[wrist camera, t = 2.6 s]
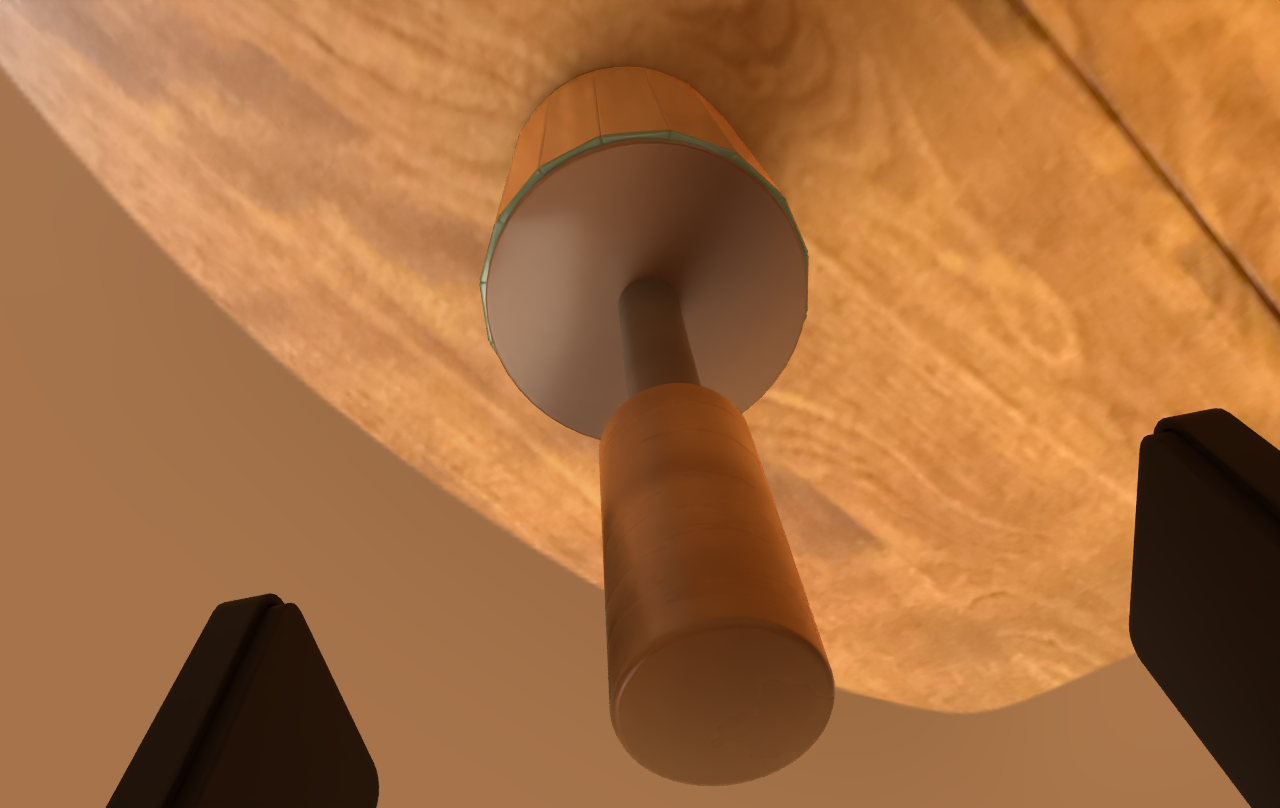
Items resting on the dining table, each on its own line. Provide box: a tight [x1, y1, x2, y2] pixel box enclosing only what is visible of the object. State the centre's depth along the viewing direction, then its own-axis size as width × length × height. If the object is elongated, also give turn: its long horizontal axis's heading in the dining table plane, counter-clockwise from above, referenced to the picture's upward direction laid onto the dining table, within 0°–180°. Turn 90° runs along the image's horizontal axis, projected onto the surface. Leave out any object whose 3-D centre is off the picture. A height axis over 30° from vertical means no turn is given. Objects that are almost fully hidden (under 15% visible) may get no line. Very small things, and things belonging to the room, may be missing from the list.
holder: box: [479, 66, 809, 355], centre depth 23 cm, size 7×7×9 cm
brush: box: [485, 138, 835, 786], centre depth 17 cm, size 6×6×19 cm
